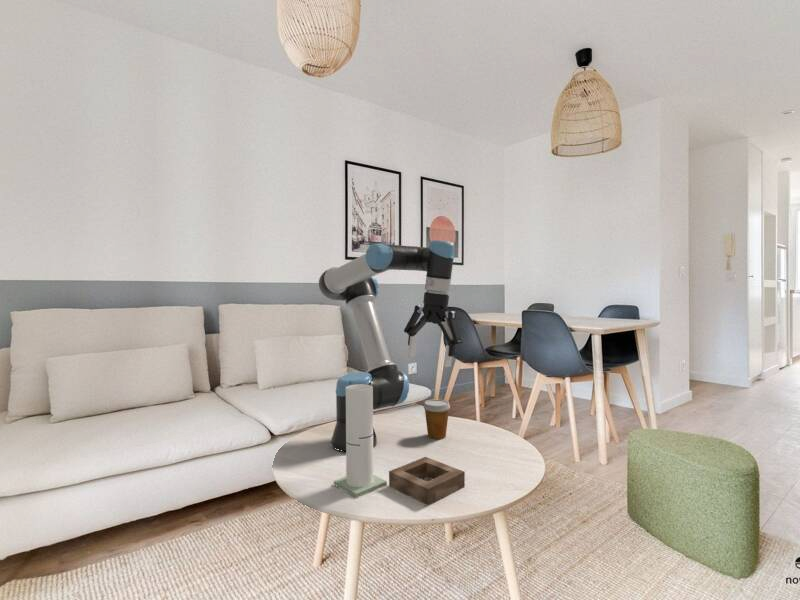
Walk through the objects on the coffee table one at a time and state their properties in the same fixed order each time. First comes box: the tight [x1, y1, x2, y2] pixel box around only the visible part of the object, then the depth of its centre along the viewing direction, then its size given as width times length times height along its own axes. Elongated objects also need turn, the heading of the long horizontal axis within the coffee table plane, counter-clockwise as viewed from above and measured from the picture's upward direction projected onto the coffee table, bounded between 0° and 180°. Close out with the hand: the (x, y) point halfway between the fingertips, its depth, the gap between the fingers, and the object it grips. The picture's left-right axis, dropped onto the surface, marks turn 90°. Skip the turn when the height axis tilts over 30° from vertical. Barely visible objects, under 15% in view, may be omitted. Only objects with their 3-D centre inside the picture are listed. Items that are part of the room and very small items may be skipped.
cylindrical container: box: [345, 384, 374, 487], centre depth 111 cm, size 7×7×25 cm
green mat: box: [333, 474, 387, 498], centre depth 112 cm, size 10×10×1 cm
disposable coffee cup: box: [422, 398, 451, 440], centre depth 149 cm, size 10×10×12 cm
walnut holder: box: [388, 456, 466, 506], centre depth 110 cm, size 14×14×4 cm
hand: (428, 361), depth 129 cm, fingers open, 13 cm apart
